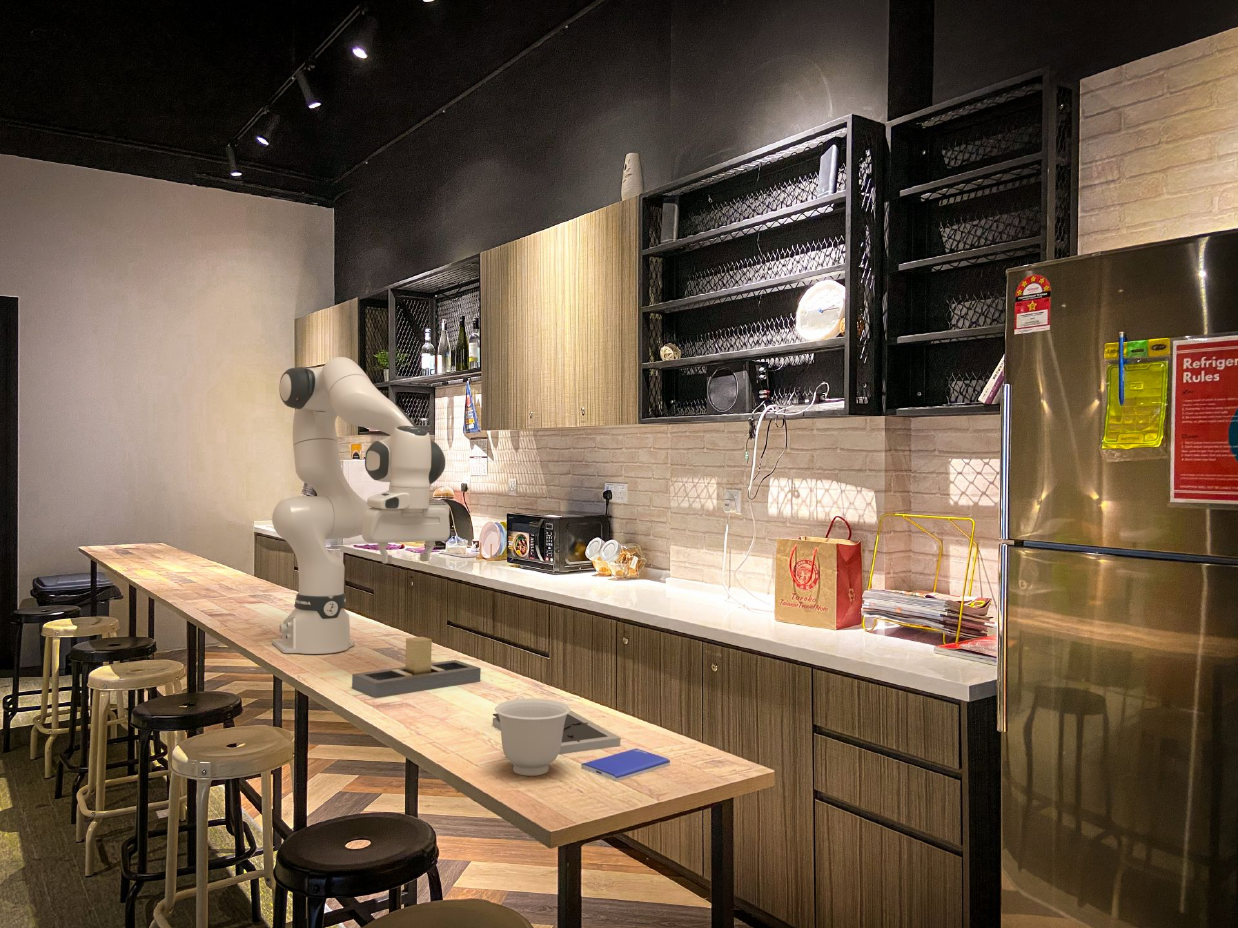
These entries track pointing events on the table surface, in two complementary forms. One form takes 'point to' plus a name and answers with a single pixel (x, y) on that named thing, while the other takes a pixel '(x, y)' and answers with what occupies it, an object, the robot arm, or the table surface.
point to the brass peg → (418, 655)
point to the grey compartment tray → (415, 679)
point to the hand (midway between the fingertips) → (405, 562)
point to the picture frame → (580, 734)
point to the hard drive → (626, 764)
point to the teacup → (531, 733)
